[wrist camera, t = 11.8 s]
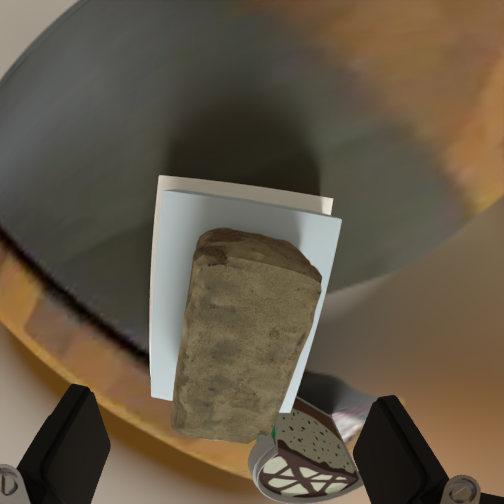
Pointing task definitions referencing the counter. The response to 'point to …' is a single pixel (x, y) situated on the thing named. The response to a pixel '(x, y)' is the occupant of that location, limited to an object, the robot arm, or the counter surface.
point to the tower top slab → (181, 256)
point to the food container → (303, 458)
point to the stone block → (241, 334)
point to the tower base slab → (234, 191)
